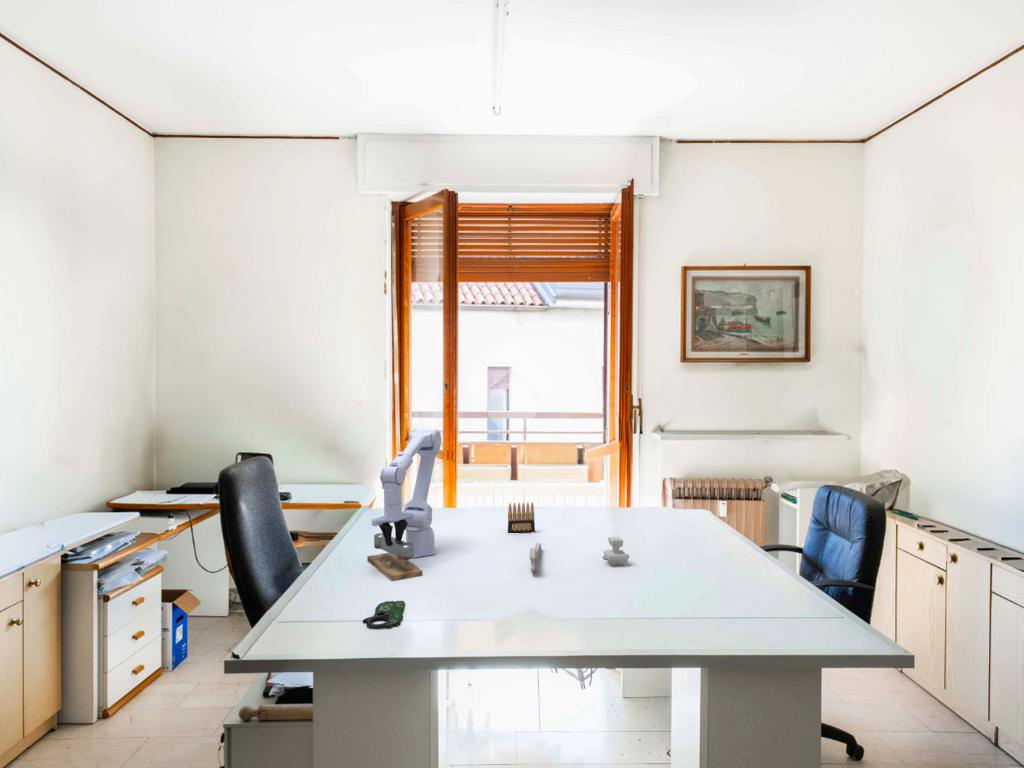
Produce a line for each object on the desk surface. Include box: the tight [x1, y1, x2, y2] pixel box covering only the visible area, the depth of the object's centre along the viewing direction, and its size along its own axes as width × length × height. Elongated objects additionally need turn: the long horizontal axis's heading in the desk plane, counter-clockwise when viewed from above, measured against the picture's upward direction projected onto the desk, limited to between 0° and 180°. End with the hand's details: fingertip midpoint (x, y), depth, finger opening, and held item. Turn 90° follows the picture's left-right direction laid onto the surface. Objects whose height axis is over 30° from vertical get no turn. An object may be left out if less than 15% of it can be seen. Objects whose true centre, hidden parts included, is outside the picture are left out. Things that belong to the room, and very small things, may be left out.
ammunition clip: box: [507, 501, 536, 534], centre depth 247 cm, size 11×2×12 cm, turn 97°
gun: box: [362, 600, 406, 630], centre depth 165 cm, size 16×2×10 cm
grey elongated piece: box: [373, 532, 414, 561], centre depth 204 cm, size 5×21×4 cm, turn 40°
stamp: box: [602, 536, 630, 566], centre depth 207 cm, size 9×7×8 cm
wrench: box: [529, 542, 542, 573], centre depth 209 cm, size 8×2×30 cm
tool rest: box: [366, 552, 423, 582], centre depth 205 cm, size 10×24×4 cm, turn 31°
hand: (393, 544), depth 204 cm, fingers closed on grey elongated piece, 3 cm apart
